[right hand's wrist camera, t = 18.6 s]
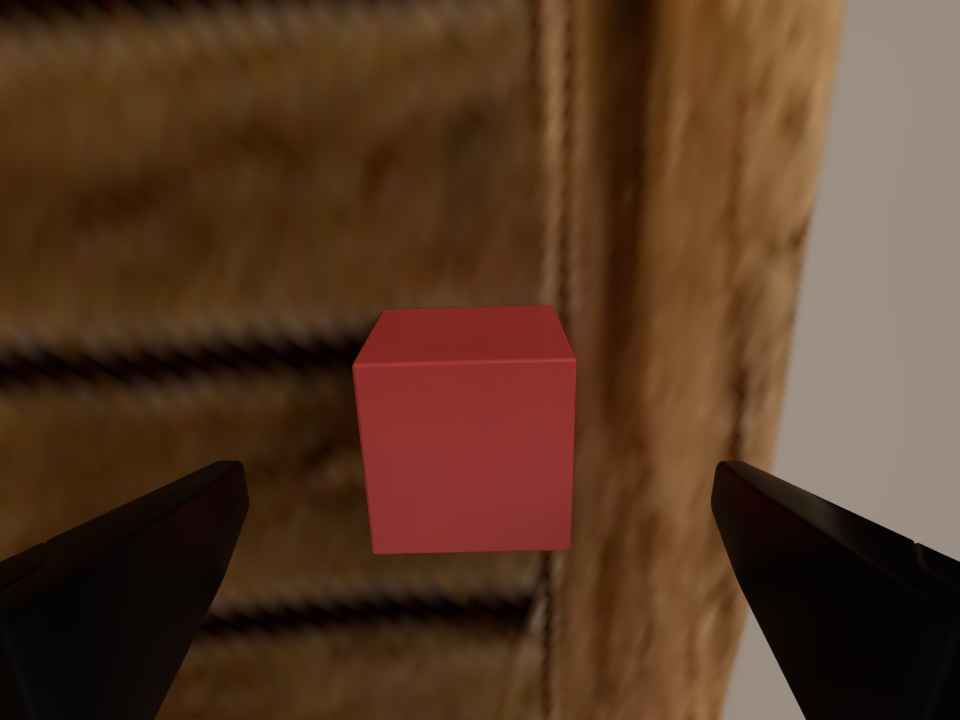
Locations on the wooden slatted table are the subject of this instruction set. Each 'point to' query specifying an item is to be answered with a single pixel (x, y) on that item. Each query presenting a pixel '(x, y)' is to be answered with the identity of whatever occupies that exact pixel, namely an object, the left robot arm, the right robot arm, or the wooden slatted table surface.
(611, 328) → the wooden slatted table surface
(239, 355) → the wooden slatted table surface
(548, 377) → the block
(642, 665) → the wooden slatted table surface
